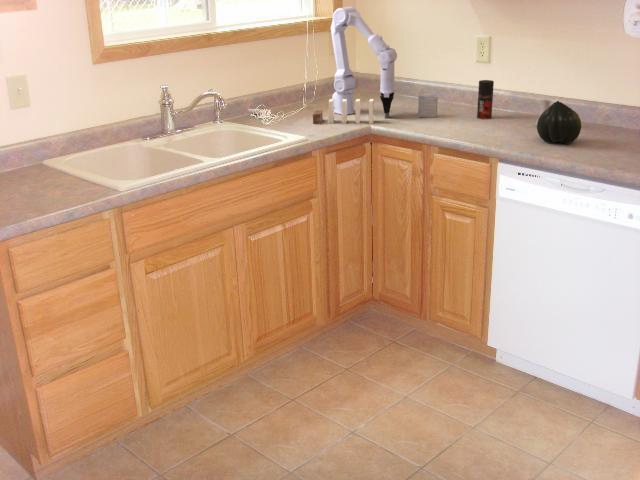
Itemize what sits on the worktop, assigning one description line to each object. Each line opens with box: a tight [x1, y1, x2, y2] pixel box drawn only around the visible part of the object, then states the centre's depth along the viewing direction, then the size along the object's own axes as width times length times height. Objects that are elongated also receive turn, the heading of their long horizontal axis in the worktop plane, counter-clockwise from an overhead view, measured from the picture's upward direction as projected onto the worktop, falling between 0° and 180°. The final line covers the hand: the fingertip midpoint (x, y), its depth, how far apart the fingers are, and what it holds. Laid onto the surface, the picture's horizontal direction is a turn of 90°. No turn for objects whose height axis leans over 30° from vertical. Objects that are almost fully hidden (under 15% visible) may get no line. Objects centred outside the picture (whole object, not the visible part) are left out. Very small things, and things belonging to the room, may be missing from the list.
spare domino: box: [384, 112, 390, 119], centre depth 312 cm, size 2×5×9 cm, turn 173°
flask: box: [534, 99, 552, 128], centre depth 290 cm, size 7×7×10 cm
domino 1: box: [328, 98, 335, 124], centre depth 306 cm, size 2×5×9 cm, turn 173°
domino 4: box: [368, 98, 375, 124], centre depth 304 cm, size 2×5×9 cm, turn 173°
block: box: [312, 109, 324, 125], centre depth 308 cm, size 3×8×4 cm, turn 173°
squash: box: [536, 100, 582, 145], centre depth 267 cm, size 14×15×15 cm
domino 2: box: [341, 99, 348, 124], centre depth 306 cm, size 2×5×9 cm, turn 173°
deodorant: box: [476, 79, 495, 120], centre depth 305 cm, size 6×6×15 cm
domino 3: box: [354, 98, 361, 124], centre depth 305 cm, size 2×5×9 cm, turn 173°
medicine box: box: [417, 94, 439, 118], centre depth 311 cm, size 8×4×9 cm, turn 84°
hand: (387, 111), depth 313 cm, fingers closed on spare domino, 5 cm apart
